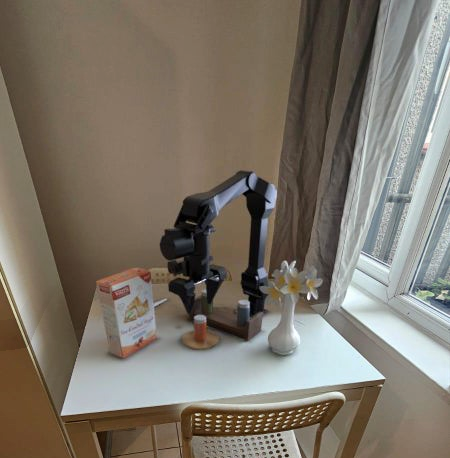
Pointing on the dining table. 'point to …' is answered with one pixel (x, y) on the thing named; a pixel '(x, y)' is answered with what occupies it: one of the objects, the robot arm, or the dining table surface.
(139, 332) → the cracker box
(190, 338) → the cork trivet
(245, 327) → the spice shelf
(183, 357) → the dining table surface
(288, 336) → the flower vase
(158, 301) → the butter knife
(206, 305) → the cylinder
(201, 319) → the terracotta shaker
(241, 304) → the cylinder
